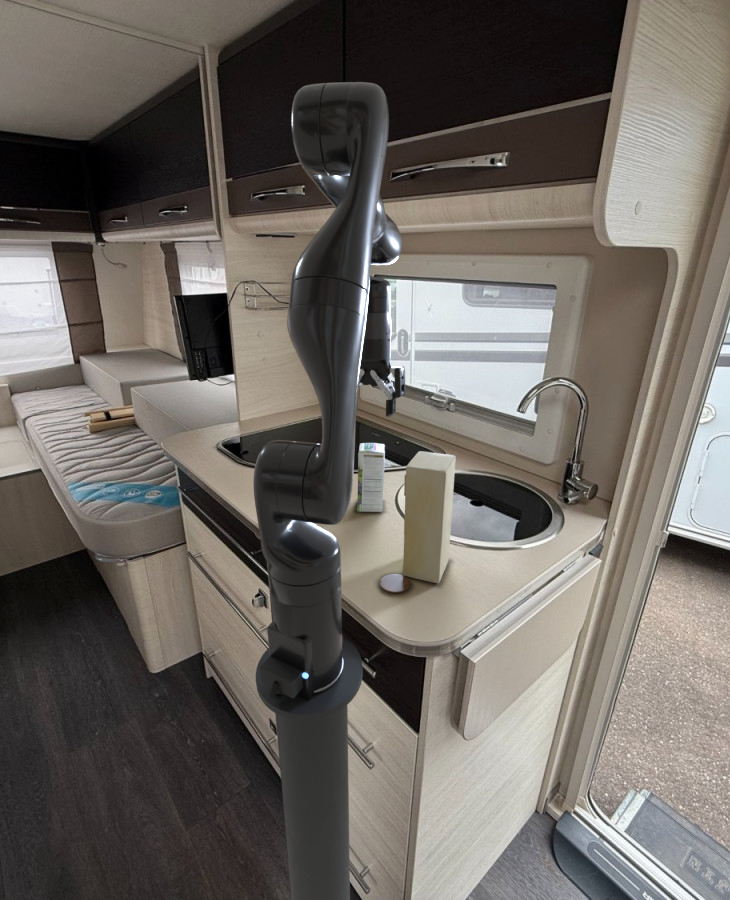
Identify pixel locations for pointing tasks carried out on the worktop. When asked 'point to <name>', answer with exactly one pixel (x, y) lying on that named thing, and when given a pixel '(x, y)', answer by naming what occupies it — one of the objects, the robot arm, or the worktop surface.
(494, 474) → the worktop surface
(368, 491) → the syrup box
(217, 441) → the worktop surface
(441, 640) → the worktop surface
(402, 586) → the brown glossy disc
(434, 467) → the tall cream pillar
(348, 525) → the worktop surface
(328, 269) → the robot arm
